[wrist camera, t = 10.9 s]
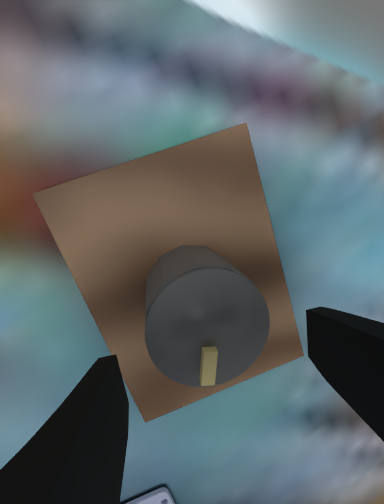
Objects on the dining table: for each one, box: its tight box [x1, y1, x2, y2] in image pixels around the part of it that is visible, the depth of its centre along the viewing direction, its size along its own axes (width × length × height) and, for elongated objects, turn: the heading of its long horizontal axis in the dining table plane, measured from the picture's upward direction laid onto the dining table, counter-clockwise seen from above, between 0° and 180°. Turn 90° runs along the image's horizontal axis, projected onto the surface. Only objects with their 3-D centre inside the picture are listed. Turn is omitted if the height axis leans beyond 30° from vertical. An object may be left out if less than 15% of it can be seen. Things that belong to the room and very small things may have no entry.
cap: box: [145, 245, 270, 387], centre depth 13 cm, size 5×5×6 cm
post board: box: [32, 123, 304, 422], centre depth 14 cm, size 16×12×5 cm
